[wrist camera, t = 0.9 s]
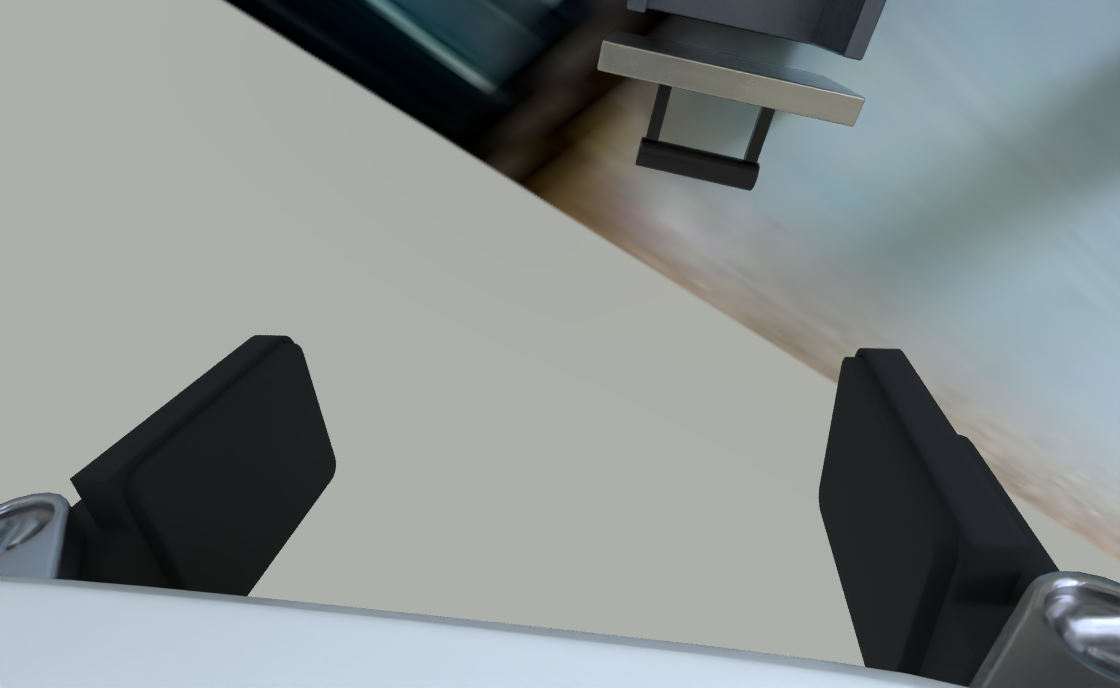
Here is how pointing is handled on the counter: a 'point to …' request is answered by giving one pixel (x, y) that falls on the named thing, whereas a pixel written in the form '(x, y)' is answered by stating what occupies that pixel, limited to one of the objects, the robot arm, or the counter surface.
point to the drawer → (742, 73)
